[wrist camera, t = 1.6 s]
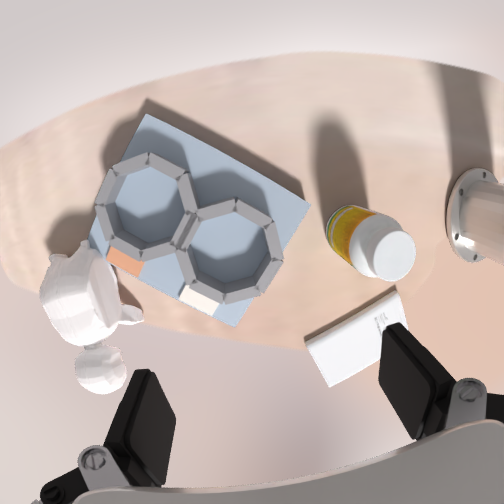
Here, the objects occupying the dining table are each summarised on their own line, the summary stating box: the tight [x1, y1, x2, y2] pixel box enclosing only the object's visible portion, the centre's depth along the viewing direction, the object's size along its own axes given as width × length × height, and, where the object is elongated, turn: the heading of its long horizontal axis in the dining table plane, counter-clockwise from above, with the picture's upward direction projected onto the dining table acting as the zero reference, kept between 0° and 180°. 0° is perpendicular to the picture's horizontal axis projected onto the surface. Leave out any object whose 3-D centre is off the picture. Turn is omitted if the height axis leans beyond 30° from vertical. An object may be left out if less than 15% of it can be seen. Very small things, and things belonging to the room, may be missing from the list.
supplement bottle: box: [326, 205, 416, 281], centre depth 24 cm, size 5×5×10 cm
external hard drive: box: [305, 290, 409, 387], centre depth 33 cm, size 2×8×12 cm
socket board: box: [87, 114, 311, 327], centre depth 25 cm, size 17×14×4 cm
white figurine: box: [40, 240, 144, 394], centre depth 26 cm, size 9×8×15 cm
